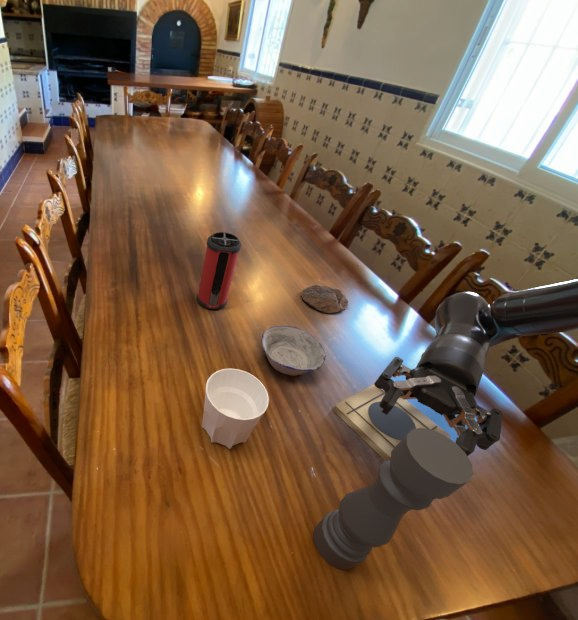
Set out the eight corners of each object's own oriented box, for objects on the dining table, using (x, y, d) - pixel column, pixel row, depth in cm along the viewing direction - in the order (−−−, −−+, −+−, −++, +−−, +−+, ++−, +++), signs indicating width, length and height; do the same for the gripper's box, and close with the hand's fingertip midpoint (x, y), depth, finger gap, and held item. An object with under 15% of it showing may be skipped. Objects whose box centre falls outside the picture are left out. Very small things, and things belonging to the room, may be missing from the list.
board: (446, 440, 64) (451, 436, 63) (399, 475, 59) (404, 470, 58) (377, 384, 74) (381, 379, 73) (331, 409, 68) (335, 404, 67)
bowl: (307, 342, 82) (315, 326, 79) (326, 387, 72) (335, 371, 69) (251, 337, 82) (257, 322, 79) (262, 382, 72) (269, 366, 69)
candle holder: (306, 545, 50) (396, 455, 34) (322, 510, 54) (410, 414, 38) (351, 581, 47) (473, 502, 31) (365, 542, 51) (479, 452, 35)
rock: (294, 288, 99) (297, 281, 97) (335, 288, 100) (338, 281, 98) (310, 314, 90) (313, 306, 89) (354, 314, 91) (358, 306, 89)
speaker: (196, 308, 89) (208, 244, 77) (196, 290, 95) (207, 228, 83) (227, 312, 88) (243, 248, 77) (225, 293, 94) (240, 232, 83)
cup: (248, 462, 59) (264, 428, 52) (190, 440, 61) (199, 406, 55) (256, 413, 66) (271, 379, 60) (204, 396, 68) (213, 361, 62)
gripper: (413, 325, 57) (378, 380, 47) (524, 378, 49) (509, 455, 40) (390, 357, 61) (354, 412, 52) (488, 410, 54) (466, 485, 45)
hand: (421, 431), depth 46 cm, fingers open, 8 cm apart
